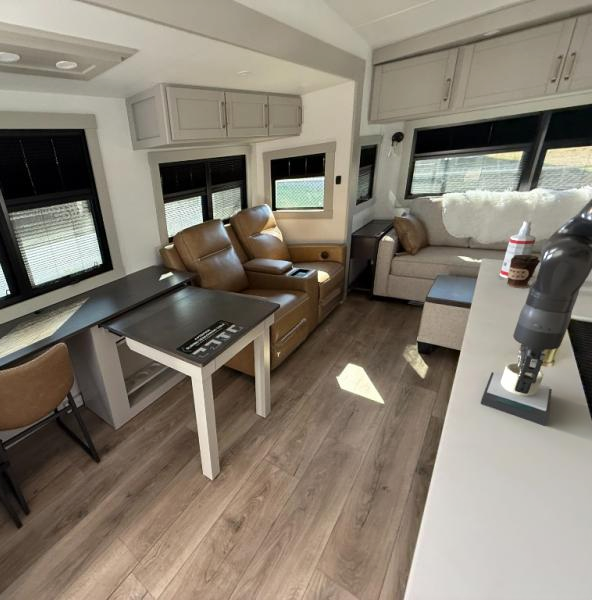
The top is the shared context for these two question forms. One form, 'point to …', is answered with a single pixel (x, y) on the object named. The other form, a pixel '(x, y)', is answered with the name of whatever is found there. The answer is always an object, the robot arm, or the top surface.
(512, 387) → the bowl
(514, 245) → the spray bottle
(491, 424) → the top surface
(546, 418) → the scale
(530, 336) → the robot arm
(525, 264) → the coffee cup
